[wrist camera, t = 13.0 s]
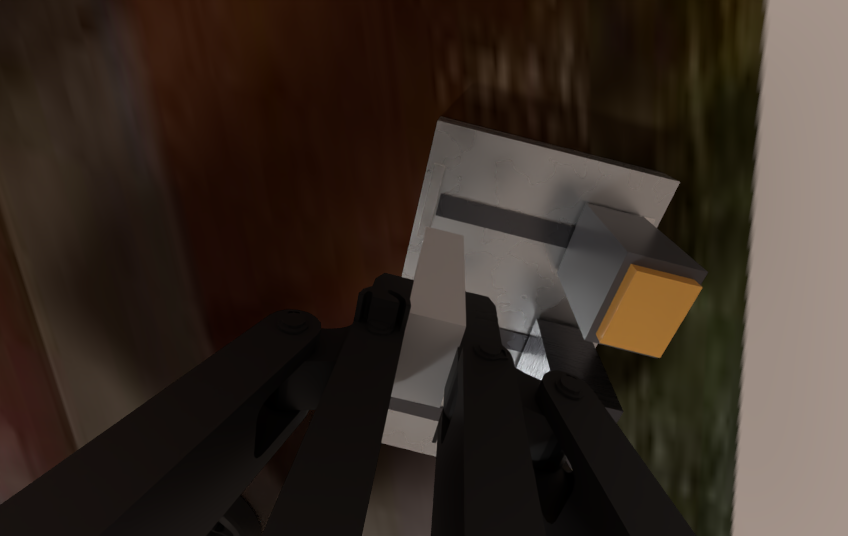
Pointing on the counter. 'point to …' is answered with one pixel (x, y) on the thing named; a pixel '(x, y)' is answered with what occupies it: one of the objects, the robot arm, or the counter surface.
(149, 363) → the counter surface
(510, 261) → the panel
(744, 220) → the counter surface
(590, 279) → the block
